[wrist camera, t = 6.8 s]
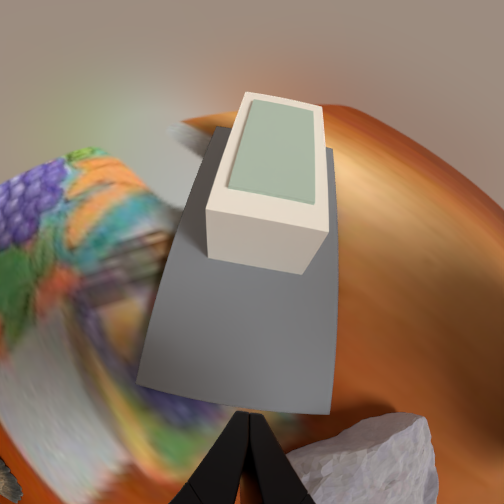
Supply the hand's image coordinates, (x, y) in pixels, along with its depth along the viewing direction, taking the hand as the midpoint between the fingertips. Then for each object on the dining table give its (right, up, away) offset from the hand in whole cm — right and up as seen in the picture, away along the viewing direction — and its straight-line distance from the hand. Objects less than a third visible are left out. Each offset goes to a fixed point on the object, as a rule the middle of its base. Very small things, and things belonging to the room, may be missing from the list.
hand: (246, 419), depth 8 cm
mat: (+1, +6, +12) cm, 13 cm away
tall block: (+1, +6, +8) cm, 9 cm away
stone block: (+7, -11, +4) cm, 14 cm away
